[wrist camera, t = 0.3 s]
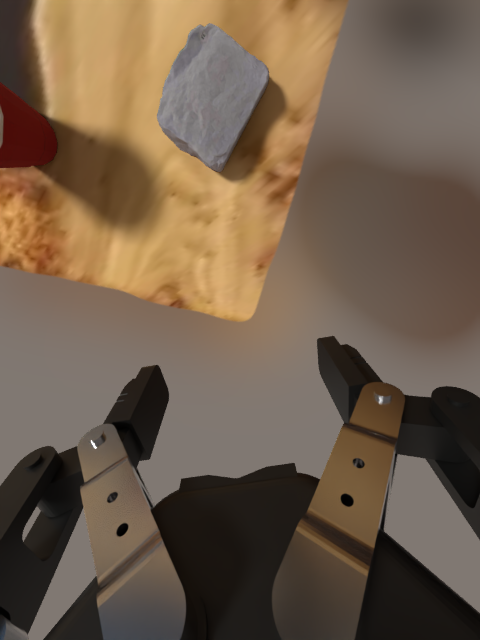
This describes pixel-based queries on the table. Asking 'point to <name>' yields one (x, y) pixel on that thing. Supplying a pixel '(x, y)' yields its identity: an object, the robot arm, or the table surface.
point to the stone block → (211, 95)
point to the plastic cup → (23, 133)
